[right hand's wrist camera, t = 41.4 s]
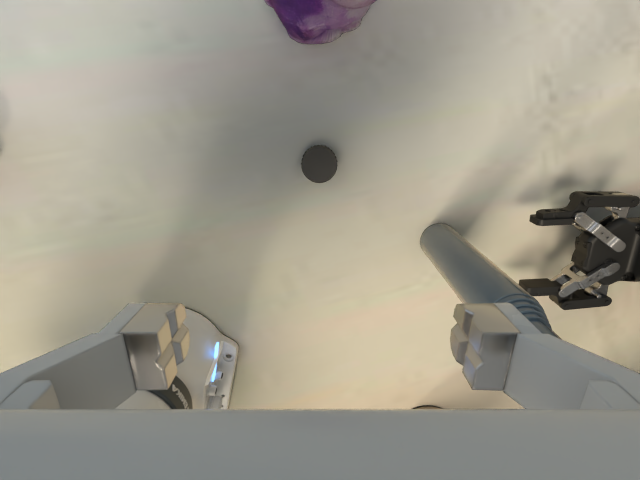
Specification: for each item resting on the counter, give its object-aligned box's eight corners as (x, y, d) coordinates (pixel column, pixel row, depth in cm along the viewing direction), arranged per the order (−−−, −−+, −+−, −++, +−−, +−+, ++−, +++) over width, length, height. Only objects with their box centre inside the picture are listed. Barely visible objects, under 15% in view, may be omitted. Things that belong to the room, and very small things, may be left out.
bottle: (413, 249, 48) (504, 379, 24) (431, 217, 46) (547, 324, 23) (444, 261, 48) (562, 400, 25) (462, 231, 47) (607, 348, 23)
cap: (343, 157, 43) (344, 159, 41) (324, 186, 45) (324, 190, 42) (313, 137, 42) (313, 139, 40) (295, 168, 44) (294, 171, 41)
